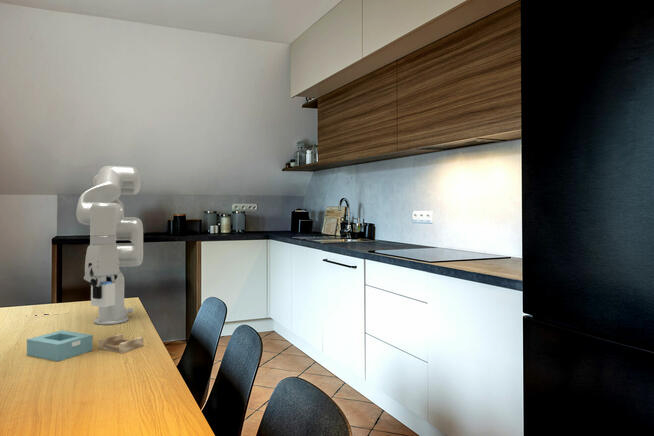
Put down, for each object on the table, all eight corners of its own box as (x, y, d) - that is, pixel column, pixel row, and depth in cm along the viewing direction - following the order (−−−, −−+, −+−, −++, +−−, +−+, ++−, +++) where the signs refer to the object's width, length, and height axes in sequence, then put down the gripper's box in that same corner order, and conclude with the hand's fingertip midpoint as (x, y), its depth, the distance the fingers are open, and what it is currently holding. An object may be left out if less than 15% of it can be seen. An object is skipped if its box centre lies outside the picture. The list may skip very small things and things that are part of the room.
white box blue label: (101, 303, 154) (101, 280, 154) (114, 304, 152) (115, 281, 152) (91, 305, 151) (91, 282, 150) (105, 307, 148) (105, 283, 148)
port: (62, 345, 156) (62, 330, 156) (92, 350, 150) (92, 335, 150) (26, 355, 145) (26, 339, 145) (58, 361, 139) (58, 344, 139)
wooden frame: (120, 342, 159) (120, 333, 159) (143, 345, 156) (143, 337, 155) (98, 349, 151) (98, 340, 151) (121, 353, 147) (121, 344, 147)
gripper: (114, 239, 160) (114, 292, 160) (72, 242, 144) (72, 301, 145) (131, 239, 157) (131, 293, 158) (90, 243, 142) (90, 303, 142)
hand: (103, 296), depth 151 cm, fingers closed on white box blue label, 4 cm apart
